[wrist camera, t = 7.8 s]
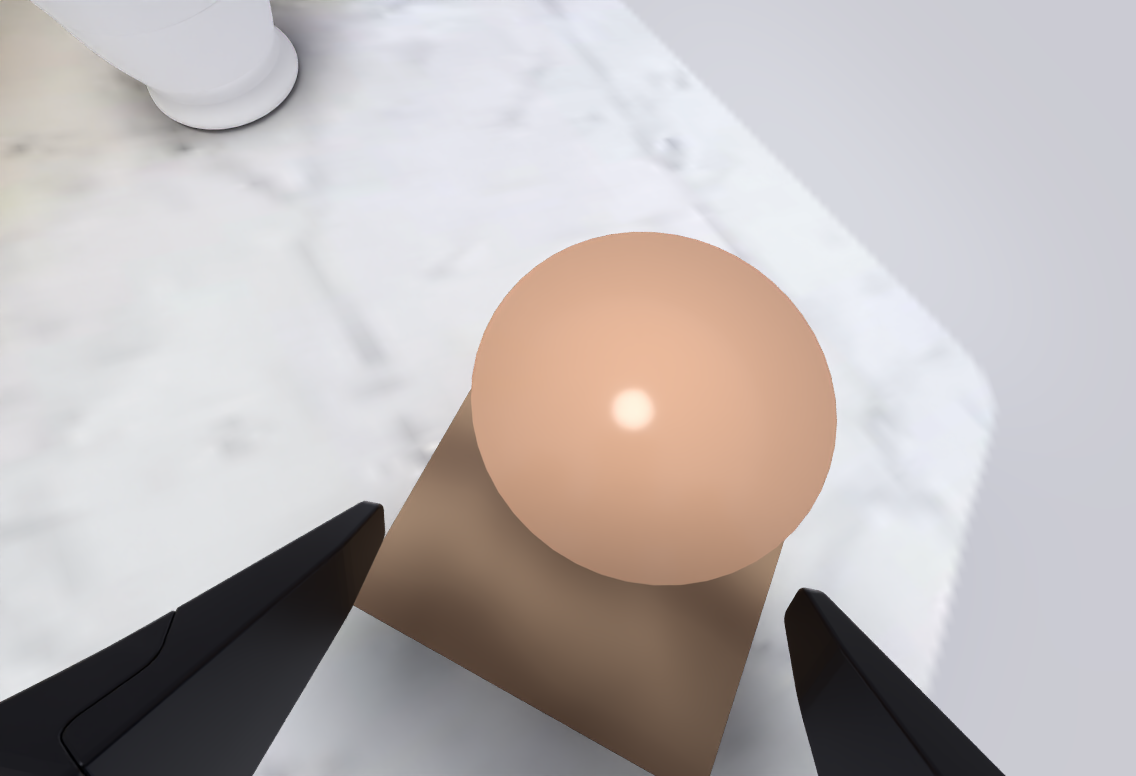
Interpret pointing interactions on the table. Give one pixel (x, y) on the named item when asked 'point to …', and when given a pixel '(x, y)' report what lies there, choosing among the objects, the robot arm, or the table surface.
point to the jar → (190, 53)
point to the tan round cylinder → (653, 408)
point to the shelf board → (564, 619)
